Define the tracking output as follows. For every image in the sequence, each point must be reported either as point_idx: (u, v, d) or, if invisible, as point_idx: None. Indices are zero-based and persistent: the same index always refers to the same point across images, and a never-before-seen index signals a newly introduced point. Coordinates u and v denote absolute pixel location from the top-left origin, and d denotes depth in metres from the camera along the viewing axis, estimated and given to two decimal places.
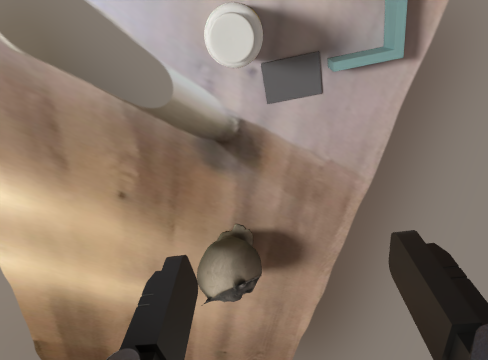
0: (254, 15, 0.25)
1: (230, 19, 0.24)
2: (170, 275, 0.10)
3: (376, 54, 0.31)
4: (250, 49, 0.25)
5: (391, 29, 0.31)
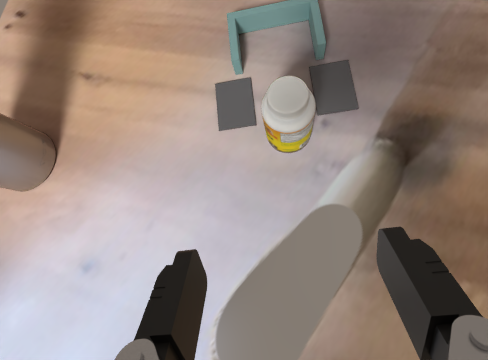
0: None
1: (271, 94, 0.27)
2: (181, 268, 0.10)
3: (312, 14, 0.36)
4: (297, 78, 0.27)
5: (294, 11, 0.38)
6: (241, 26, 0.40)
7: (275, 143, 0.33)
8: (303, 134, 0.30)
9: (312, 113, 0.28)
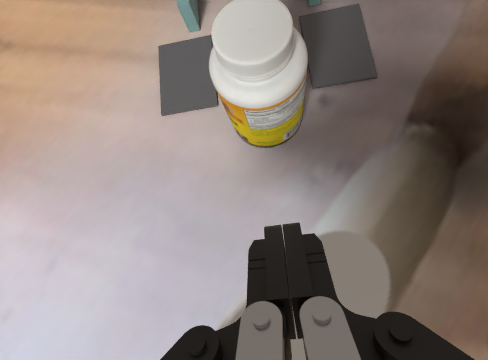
0: None
1: (220, 29, 0.14)
2: (276, 241, 0.11)
3: None
4: None
5: None
6: None
7: (242, 132, 0.20)
8: (287, 113, 0.17)
9: (301, 70, 0.15)
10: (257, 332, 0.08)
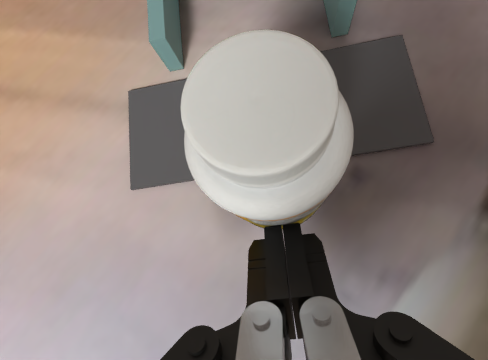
0: None
1: (197, 100, 0.07)
2: (276, 241, 0.11)
3: None
4: (290, 36, 0.07)
5: None
6: None
7: None
8: (315, 208, 0.11)
9: (346, 157, 0.08)
10: (257, 332, 0.08)
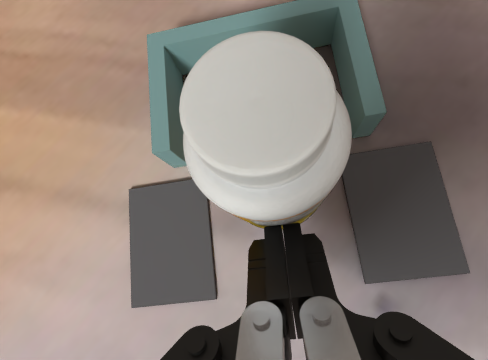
0: None
1: (195, 103, 0.07)
2: (276, 241, 0.11)
3: (347, 35, 0.15)
4: (285, 36, 0.07)
5: (301, 28, 0.17)
6: (184, 61, 0.18)
7: None
8: (316, 206, 0.11)
9: (345, 154, 0.08)
10: (257, 332, 0.08)
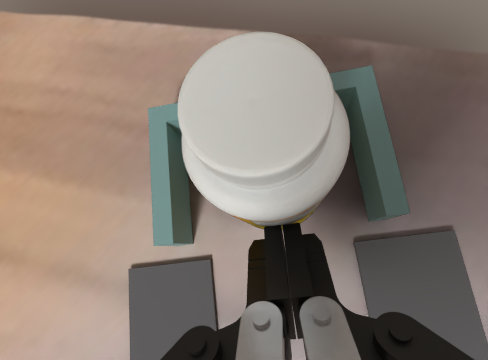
0: None
1: (194, 106, 0.07)
2: (276, 241, 0.11)
3: (366, 120, 0.14)
4: (281, 36, 0.07)
5: None
6: None
7: None
8: (317, 205, 0.11)
9: (344, 152, 0.09)
10: (257, 332, 0.08)
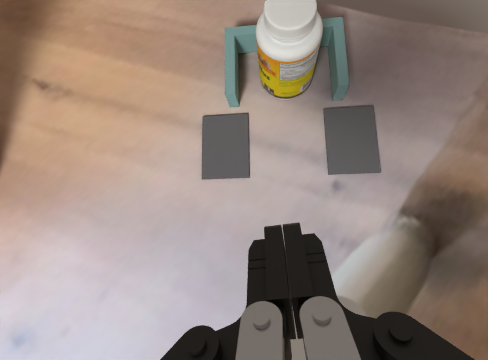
0: None
1: (270, 7, 0.21)
2: (276, 241, 0.11)
3: (335, 42, 0.28)
4: None
5: None
6: (242, 45, 0.31)
7: (272, 84, 0.28)
8: (307, 67, 0.25)
9: (319, 35, 0.23)
10: (257, 332, 0.08)
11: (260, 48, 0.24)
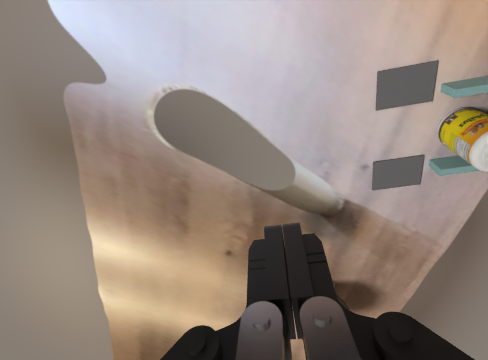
0: None
1: None
2: (276, 241, 0.11)
3: None
4: None
5: None
6: None
7: (454, 126, 0.36)
8: (461, 156, 0.35)
9: (483, 170, 0.33)
10: (257, 332, 0.08)
11: None
